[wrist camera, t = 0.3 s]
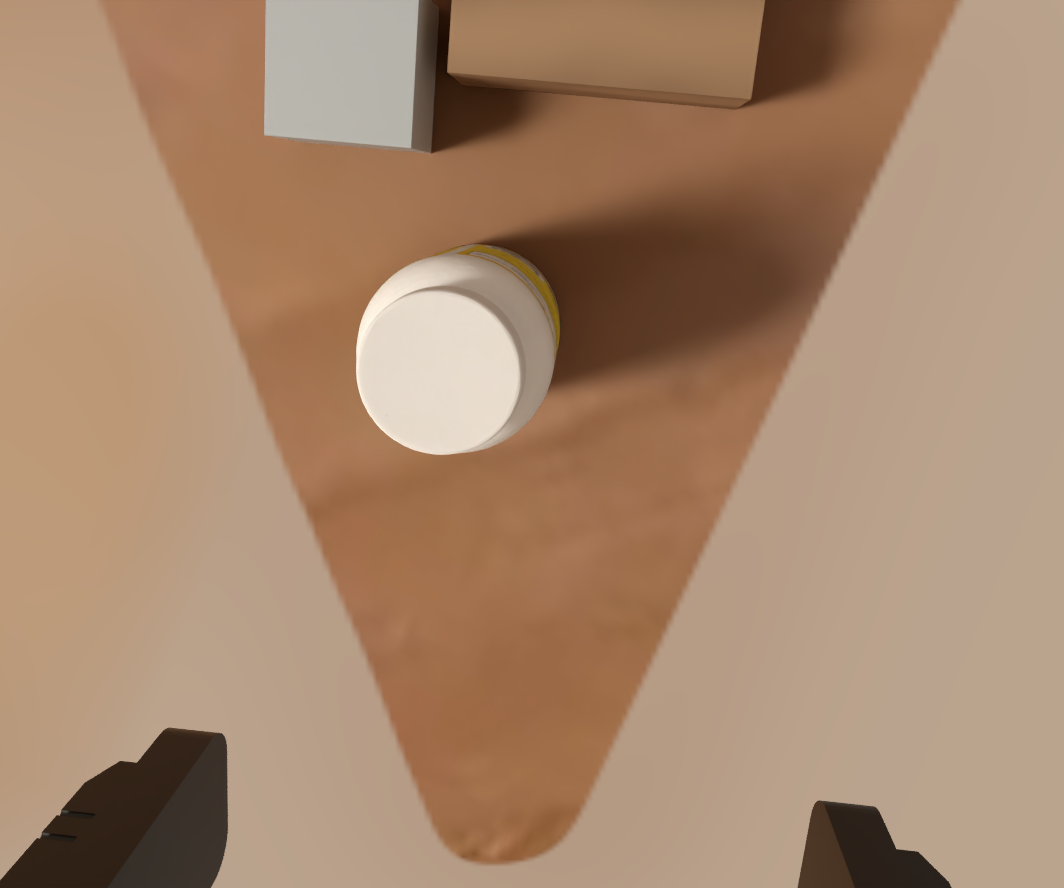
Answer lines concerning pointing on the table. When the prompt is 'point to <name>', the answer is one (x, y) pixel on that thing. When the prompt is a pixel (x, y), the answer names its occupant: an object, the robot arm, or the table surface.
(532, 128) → the table surface
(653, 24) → the walnut block
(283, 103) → the slate block
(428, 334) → the pill bottle
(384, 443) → the table surface
